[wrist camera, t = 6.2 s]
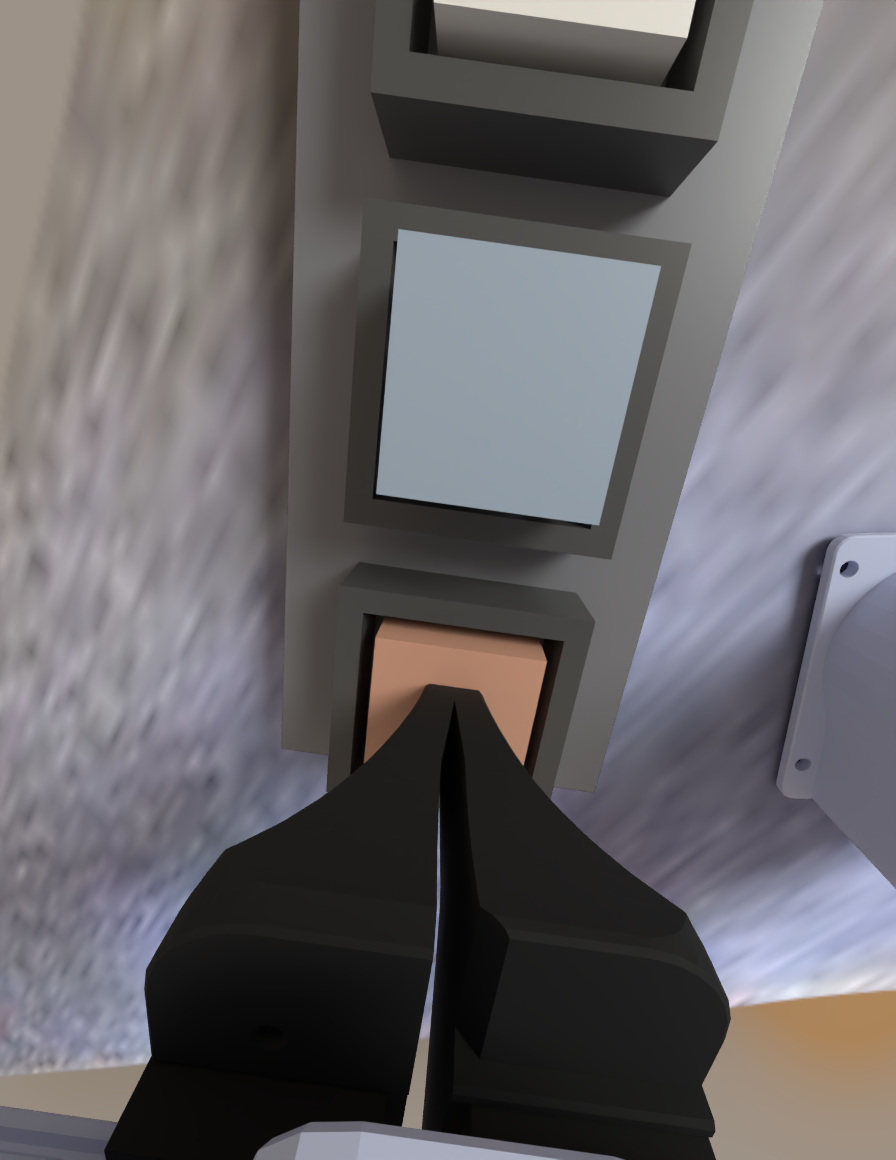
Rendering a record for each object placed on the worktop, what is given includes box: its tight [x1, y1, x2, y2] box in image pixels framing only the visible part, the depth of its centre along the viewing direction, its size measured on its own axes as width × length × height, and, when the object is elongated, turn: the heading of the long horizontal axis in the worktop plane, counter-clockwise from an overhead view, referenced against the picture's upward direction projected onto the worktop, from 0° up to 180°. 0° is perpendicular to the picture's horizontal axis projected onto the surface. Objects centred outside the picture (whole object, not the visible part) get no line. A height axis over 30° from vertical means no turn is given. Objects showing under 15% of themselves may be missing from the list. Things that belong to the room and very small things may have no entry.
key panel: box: [282, 0, 824, 808], centre depth 11 cm, size 22×10×4 cm, turn 172°
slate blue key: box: [376, 229, 661, 525], centre depth 9 cm, size 4×4×2 cm
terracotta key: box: [364, 616, 547, 766], centre depth 12 cm, size 4×4×2 cm
